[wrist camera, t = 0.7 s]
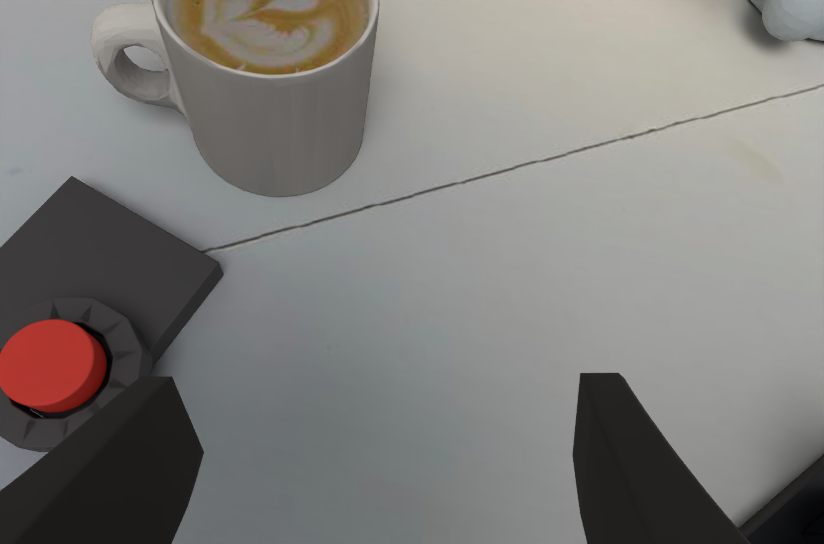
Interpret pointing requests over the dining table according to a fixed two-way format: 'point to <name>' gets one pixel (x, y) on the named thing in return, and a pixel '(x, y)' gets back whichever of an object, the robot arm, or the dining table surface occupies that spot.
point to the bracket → (792, 512)
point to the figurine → (793, 18)
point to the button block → (96, 296)
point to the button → (52, 366)
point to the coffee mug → (253, 81)
